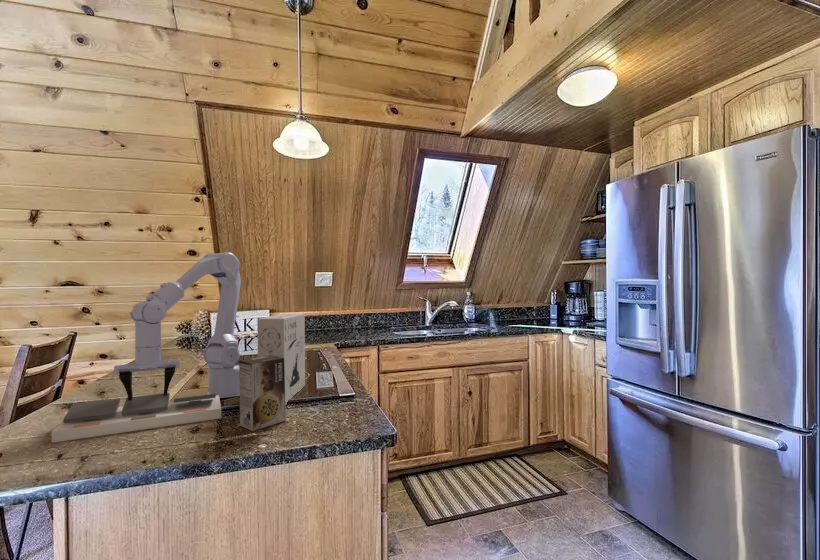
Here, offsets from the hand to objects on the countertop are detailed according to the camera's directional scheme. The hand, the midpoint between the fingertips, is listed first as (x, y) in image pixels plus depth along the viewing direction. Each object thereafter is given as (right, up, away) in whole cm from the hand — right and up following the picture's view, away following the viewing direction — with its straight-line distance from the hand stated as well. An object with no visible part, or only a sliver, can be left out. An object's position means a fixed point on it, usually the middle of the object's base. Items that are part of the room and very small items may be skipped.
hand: (148, 398), depth 107 cm
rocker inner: (+11, -1, +2) cm, 11 cm away
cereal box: (+30, -5, +18) cm, 35 cm away
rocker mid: (+1, -1, -3) cm, 3 cm away
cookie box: (+32, -5, -6) cm, 33 cm away
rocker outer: (-8, -1, -8) cm, 11 cm away
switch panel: (+2, -5, -3) cm, 6 cm away
